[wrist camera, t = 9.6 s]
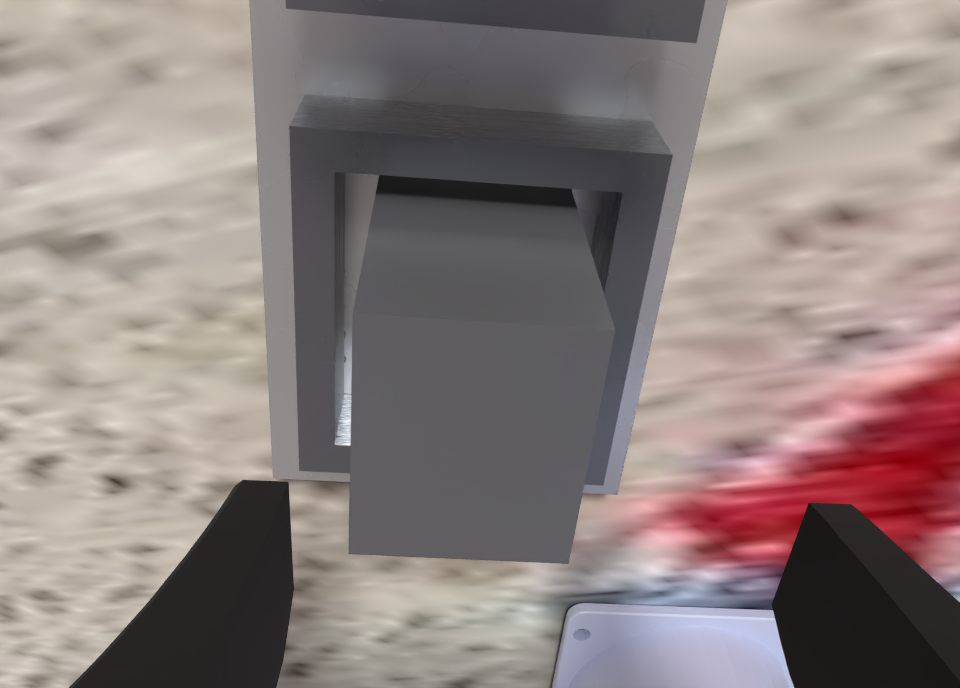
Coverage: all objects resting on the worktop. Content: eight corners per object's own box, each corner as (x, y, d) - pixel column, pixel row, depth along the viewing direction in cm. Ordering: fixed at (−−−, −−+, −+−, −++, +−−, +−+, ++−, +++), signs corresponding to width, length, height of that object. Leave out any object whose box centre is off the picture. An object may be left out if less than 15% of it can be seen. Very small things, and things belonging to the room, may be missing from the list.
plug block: (540, 379, 21) (568, 564, 16) (373, 369, 21) (348, 554, 16) (569, 184, 18) (615, 330, 13) (380, 169, 18) (352, 313, 13)
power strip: (611, 470, 24) (664, 690, 18) (279, 453, 23) (220, 676, 17) (826, -531, 13) (1122, -793, 8) (233, -609, 13) (45, -963, 7)
